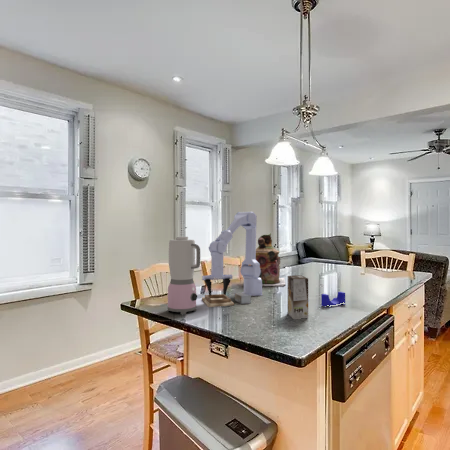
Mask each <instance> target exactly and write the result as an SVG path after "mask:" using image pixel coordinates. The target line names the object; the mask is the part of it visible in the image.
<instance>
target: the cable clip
mask: <svg viewBox="0 0 450 450" xmlns="http://www.w3.org/2000/svg"><path fill="white" fill-rule="evenodd" d="M320 295H321V305H323V306H327V305H329V306H330V305H336V304H340V303H343V302H344V303H345V304H346V292H344V291H337V296H336V297H333V298H332V300H331V299H330V295H329V294H327V293H321V294H320Z"/></svg>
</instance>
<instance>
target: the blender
mask: <svg viewBox="0 0 450 450" xmlns="http://www.w3.org/2000/svg"><path fill="white" fill-rule="evenodd" d="M195 243H196V241H195V240H194V239H189V237H188V236H176V237H175V239H170V240H169V241H168V267H169V273H170V281H169V284H168V287H167V312H168V311H170V312H175V313H180V315H181V314H186V315H187V312H192V311H193V312H195V311H196V312H197V298H198V295H197V286H196V284H195V281H194V275H195V274H194V273H195V270H196V269H199V268H200V266H201V247H200V246H199V245H198V244H195Z"/></svg>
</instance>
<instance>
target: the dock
mask: <svg viewBox="0 0 450 450" xmlns="http://www.w3.org/2000/svg"><path fill="white" fill-rule="evenodd" d="M201 300H202V301H203V302H204V304H205V305H206V306H207V307H208V308H213V307H214V308H215V307H227V306H229V307H230V306H235V302H233V301H232V299H231V298H230V297H229V296H228V295H227V294H226V295H224V294H223V293H219V294H217V293H216V294H211V296H210V295H209V294H205V295H204V296H202V297H201Z"/></svg>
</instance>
